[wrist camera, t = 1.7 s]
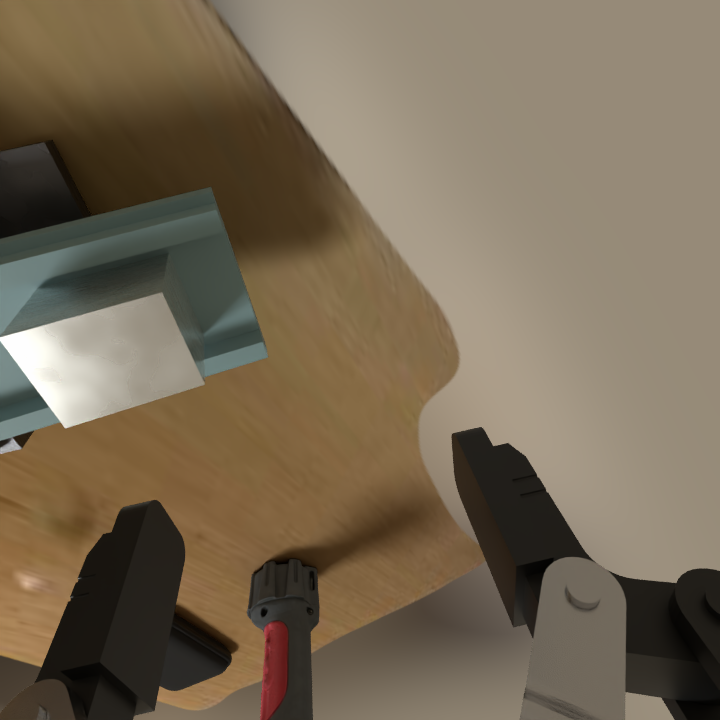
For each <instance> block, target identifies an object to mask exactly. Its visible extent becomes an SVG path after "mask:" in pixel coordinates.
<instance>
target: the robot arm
mask: <svg viewBox="0 0 720 720" xmlns="http://www.w3.org/2000/svg"><path fill="white" fill-rule="evenodd" d="M452 450H453V463H454V475H455V481H456V485H457V489H458V492H459V495H460V498H461V500H462V503H463V505H464V508H465V510H466V513H467V515H468V518H469V520H470V522H471V525H472V527H473V530H474V532H475V535H476V537H477V540H478V542H479V545H480V547H481V549H482V552H483V554H484V557H485V559H486V562H487V564H488V567H489V569H490V571H491V574H492V576H493V579H494V581H495V583H496V586H497V588H498V591H499V593H500V596H501V598H502V601H503V603H504V606H505V608H506V611H507V613H508V615H509V618H510V620H511V623H512V625H513V627H517V626H521V625H525V624H527V626H528V629H529V631H530V633H531V635H532V638H533V645H532V651H531V657H530V664H529V670H528V676H527V684H526V688H525V693H524V698H523V703H522V710H521V716H520V720H625V692H629V693H636V694H642V695H648V696H655V697H661V698H662V699H663V701H664V703H665V704H666V706H667V708H668V709H669V711H670V713H671V714H672V716H673V718H674V719H675V720H720V571H717V570H713V569H693V570H690V571H687V572H686V573H684V574H683V575H682V576H681V577H680V578H679V579H678V581H677V583H669V582H658V581H648V580H638V579H631V578H626V577H623V576H619V575H616V574H614V573H612V572H610V571H608V570H606V569H605V568H603V567H602V566H600V565H599V564H597V563H596V562H595V561H593V560H592V559H591V558H590V557H589V556H588V554H587V553H586V552H585V551H584V549H583V548H582V546H581V545H580V543H579V542H578V540H577V539H576V537H575V535H574V534H573V532H572V530H571V529H570V527H569V526H568V524H567V522H566V521H565V519H564V517H563V516H562V514H561V513H560V511H559V509H558V508H557V506H556V505H555V503H554V501H553V500H552V498H551V497H550V495H549V493H547V492H546V489H545V487H544V485H543V484H542V482H541V480H540V479H539V478H538V477H537V474H536V472H535V471H534V469H533V467H532V466H531V464H530V463H529V461H528V459H527V458H526V456H524V455H523V454H522V453H520V452H519V451H518V450H516V449H515V448H514V447H512V446H511V445H510V444H508V443H506V444H502V445H498V446H493V445H492V443H491V441H490V440H489V438H488V436H487V434H486V432H485V431H484V429H483V428H482V427H479V428H474V429H470V430H466V431H461V432H457V433H453V434H452ZM184 562H185V545H184V541H183V538H182V536H181V534H180V532H179V531H178V529H177V528H176V526H175V525H174V523H173V522H172V520H171V519H170V517H169V515H168V514H167V512H166V511H165V509H164V508H163V506H162V505H161V503H160V502H159V501H157V500H152V501H148V502H143V503H139V504H135V505H130V506H126V507H123V508H122V509H121V510H120V512H119V514H118V516H117V519H116V522H115V524H114V527H113V530H112V532H111V533H106V534H103V535H102V537H101V538H100V539H99V540H98V542H97V543H96V544H95V546H94V547H93V548H92V550H91V551H90V552H89V554H88V555H87V557H86V559H85V562H84V564H83V567H82V569H81V571H80V574H79V576H78V582H77V583H76V584H75V586H74V589H73V591H72V594H71V596H70V597H71V601H70V602H68V604H67V606H66V609H65V611H64V614H63V616H62V618H61V621H60V623H59V626H58V628H57V631H56V633H55V636H54V638H53V641H52V643H51V646H50V648H49V651H48V653H47V656H46V658H45V660H44V663H43V665H42V668H41V671H40V673H39V675H38V677H37V679H36V681H35V683H34V684H32V685H31V686H29V687H27V688H26V689H24V690H23V691H21V692H20V693H19V694H18V695H17V696H16V697H14V698H13V699H12V700H11V701H10V702H9V703H8V704H7V705H6V707H5V708H4V709H3V710H2V711H1V713H0V720H133V717H134V716H135V715H139V714H143V713H147V712H152V711H154V710H155V705H156V700H157V695H158V690H159V686H160V681H161V676H162V671H163V666H164V661H165V656H166V651H167V646H168V641H169V636H170V631H171V626H172V621H173V616H174V611H175V606H176V601H177V596H178V591H179V586H180V582H181V577H182V572H183V567H184Z"/></svg>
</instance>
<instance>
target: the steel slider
mask: <svg viewBox="0 0 720 720" xmlns="http://www.w3.org/2000/svg"><path fill="white" fill-rule="evenodd" d="M0 341H1V342H2V344H3V345H4V346H5V348H6V349H7V350H8V352H9V353H10V354H11V356H12V357H13V359H14V360H15V361H16V363H17V364H18V365H19V367H20V368H21V369H22V371H23V372H24V373H25V375H26V376H27V377H28V379H29V380H30V381H31V383H32V384H33V385H34V387H35V388H36V390H37V391H38V392H39V394H40V395H41V396H42V398H43V399H44V400H45V402H46V403H47V404H48V406H49V407H50V408H51V410H52V411H53V412H54V414H55V415H56V416H57V418H58V419H59V421H60V422H61V423H62V425H63V426H64V427H65V428H68V427H71V426H74V425H78V424H81V423H84V422H87V421H90V420H94V419H97V418H100V417H103V416H106V415H109V414H113V413H116V412H119V411H122V410H125V409H129V408H132V407H135V406H138V405H141V404H144V403H148V402H151V401H154V400H157V399H160V398H163V397H167V396H170V395H173V394H176V393H179V392H183V391H186V390H189V389H192V388H195V387H198V386H202V385H205V365H204V333H203V331H202V329H201V326H200V324H199V322H198V320H197V317H196V315H195V313H194V310H193V308H192V306H191V303H190V301H189V299H188V296H187V294H186V292H185V290H184V287H183V285H182V283H181V280H180V278H179V276H178V273H177V271H176V269H175V266H174V264H173V262H172V260H171V257H170V255H169V253H167V254H163V255H160V256H156V257H152V258H148V259H145V260H141V261H137V262H133V263H130V264H126V265H122V266H118V267H115V268H111V269H107V270H103V271H100V272H96V273H92V274H88V275H85V276H81V277H77V278H73V279H70V280H66V281H62V282H58V283H54V284H51V285H47V286H43V287H39V288H37V289H36V291H35V292H34V293H33V294H32V296H31V297H30V298H29V300H28V301H27V302H26V303H25V305H24V306H23V307H22V308H21V310H20V311H19V312H18V314H17V315H16V316H15V317H14V319H13V320H12V321H11V322H10V324H9V325H8V326H7V328H6V329H5V330H4V331H3V333H2V334H1V335H0Z"/></svg>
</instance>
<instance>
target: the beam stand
mask: <svg viewBox="0 0 720 720" xmlns="http://www.w3.org/2000/svg"><path fill="white" fill-rule="evenodd" d="M87 217H91V215H90V213H89V211H88V209H87V207H86V205H85V203H84V201H83V199H82V197H81V195H80V193H79V191H78V189H77V187H76V185H75V183H74V181H73V180H72V178H71V176H70V174H69V172H68V170H67V168H66V166H65V164H64V162H63V160H62V158H61V156H60V154H59V152H58V150H57V148H56V146H55V144H54V142H53V140H50V141H45V142H40V143H36V144H31V145H26V146H22V147H17V148H12V149H7V150H3V151H0V239H2V238H6V237H10V236H14V235H18V234H22V233H26V232H30V231H34V230H38V229H42V228H46V227H50V226H54V225H58V224H62V223H67V222H71V221H75V220H79V219H83V218H87ZM33 432H34V430H33V431H30V432H27V433H24V434H21V435H17V436H14V437H11V438H8V439H5V440H1V441H0V454H1V453H6V452H10V451H14V450H19V449H22V448H23V446H24V445H25V443H26V442H27V440H28V439H29V437H30V436H31V435H32V433H33Z"/></svg>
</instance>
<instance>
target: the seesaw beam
mask: <svg viewBox="0 0 720 720" xmlns="http://www.w3.org/2000/svg"><path fill="white" fill-rule="evenodd" d="M167 253H169V255H170V257H171V260H172V262H173V264H174V266H175V269H176V271H177V273H178V276H179V278H180V280H181V283H182V285H183V287H184V290H185V292H186V294H187V296H188V299H189V301H190V303H191V306H192V308H193V310H194V313H195V315H196V317H197V320H198V322H199V324H200V326H201V329H202V331H203V333H204V365H205V377H206V376H210V375H213V374H216V373H219V372H222V371H226V370H229V369H232V368H235V367H238V366H242V365H245V364H248V363H251V362H254V361H258V360H261V359H264V358H267V357H268V355H267V348H266V345H265V341H264V338H263V335H262V332H261V329H260V327H259V324H258V321H257V318H256V315H255V312H254V309H253V306H252V304H251V301H250V298H249V295H248V292H247V289H246V286H245V283H244V281H243V278H242V275H241V272H240V269H239V266H238V263H237V260H236V258H235V255H234V252H233V249H232V246H231V243H230V240H229V237H228V235H227V232H226V229H225V226H224V223H223V220H222V217H221V214H220V211H219V209H218V206H217V203H216V200H215V197H214V194H213V191H212V188H211V187H208V188H204V189H200V190H196V191H192V192H188V193H184V194H180V195H176V196H172V197H168V198H164V199H160V200H155V201H151V202H147V203H143V204H139V205H135V206H131V207H127V208H123V209H119V210H115V211H111V212H107V213H103V214H99V215H95V216H91V217H87V218H83V219H79V220H75V221H71V222H67V223H62V224H58V225H54V226H50V227H46V228H42V229H38V230H34V231H30V232H26V233H22V234H18V235H14V236H10V237H6V238H2V239H0V335H1V334H2V333H3V331H4V330H5V329H6V328H7V326H8V325H9V324H10V322H11V321H12V320H13V319H14V317H15V316H16V315H17V314H18V312H19V311H20V310H21V308H22V307H23V306H24V305H25V303H26V302H27V301H28V300H29V298H30V297H31V296H32V294H33V293H34V292H35V291H36V289H37V288H39V287H43V286H47V285H51V284H54V283H58V282H62V281H66V280H70V279H73V278H77V277H81V276H85V275H88V274H92V273H96V272H100V271H103V270H107V269H111V268H115V267H118V266H122V265H126V264H130V263H133V262H137V261H141V260H145V259H148V258H152V257H156V256H160V255H163V254H167ZM59 422H60V421H59V419H58V418H57V416H56V415H55V414H54V412H53V411H52V410H51V408H50V407H49V406H48V404H47V403H46V402H45V400H44V399H43V398H42V396H41V395H40V394H39V392H38V391H37V390H36V388H35V387H34V385H33V384H32V383H31V381H30V380H29V379H28V377H27V376H26V375H25V373H24V372H23V371H22V369H21V368H20V367H19V365H18V364H17V363H16V361H15V360H14V359H13V357H12V356H11V354H10V353H9V352H8V350H7V349H6V348H5V346H4V345H3V344H2V342H1V341H0V441H1V440H5V439H8V438H11V437H14V436H17V435H21V434H24V433H27V432H30V431H33V430H37V429H40V428H43V427H46V426H49V425H53V424H56V423H59Z"/></svg>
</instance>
